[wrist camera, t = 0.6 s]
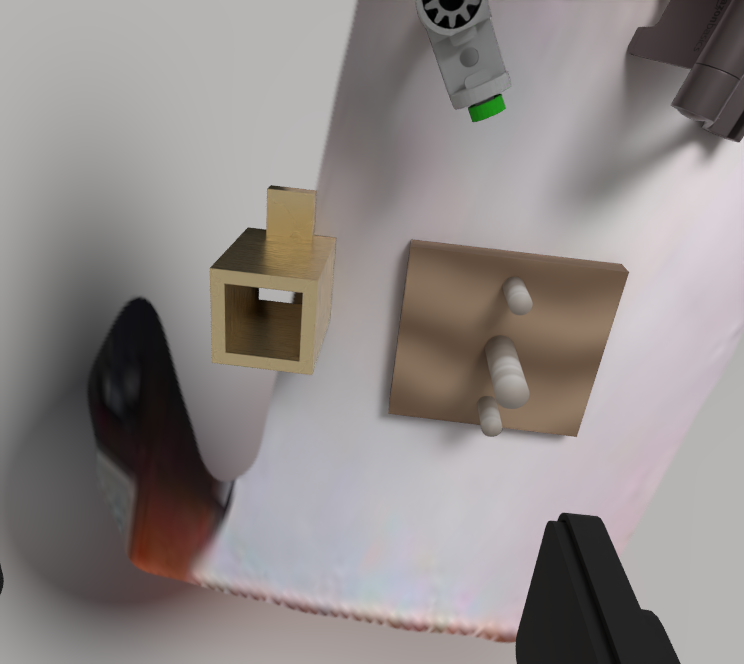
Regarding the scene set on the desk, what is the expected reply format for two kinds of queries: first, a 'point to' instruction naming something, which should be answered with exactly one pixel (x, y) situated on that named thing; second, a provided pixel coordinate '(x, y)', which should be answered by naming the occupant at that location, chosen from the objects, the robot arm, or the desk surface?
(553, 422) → the post dock
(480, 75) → the mechanical component
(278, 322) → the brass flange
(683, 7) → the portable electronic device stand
